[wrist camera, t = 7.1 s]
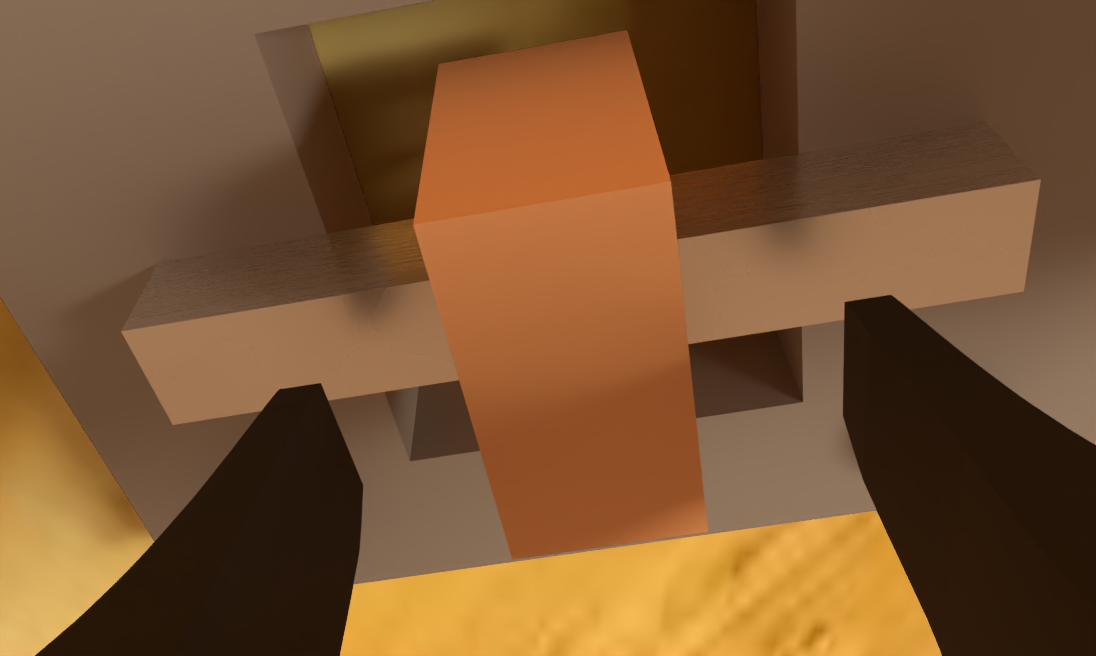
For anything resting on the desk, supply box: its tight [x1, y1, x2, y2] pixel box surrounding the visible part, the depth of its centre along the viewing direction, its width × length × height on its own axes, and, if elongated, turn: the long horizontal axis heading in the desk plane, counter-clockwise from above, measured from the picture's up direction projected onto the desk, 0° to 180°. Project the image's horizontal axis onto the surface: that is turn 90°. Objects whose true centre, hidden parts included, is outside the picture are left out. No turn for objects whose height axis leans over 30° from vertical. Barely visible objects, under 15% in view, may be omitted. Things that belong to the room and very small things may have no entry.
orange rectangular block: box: [413, 30, 708, 559], centre depth 15 cm, size 3×6×5 cm, turn 10°
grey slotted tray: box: [0, 0, 1096, 584], centre depth 17 cm, size 20×16×5 cm
